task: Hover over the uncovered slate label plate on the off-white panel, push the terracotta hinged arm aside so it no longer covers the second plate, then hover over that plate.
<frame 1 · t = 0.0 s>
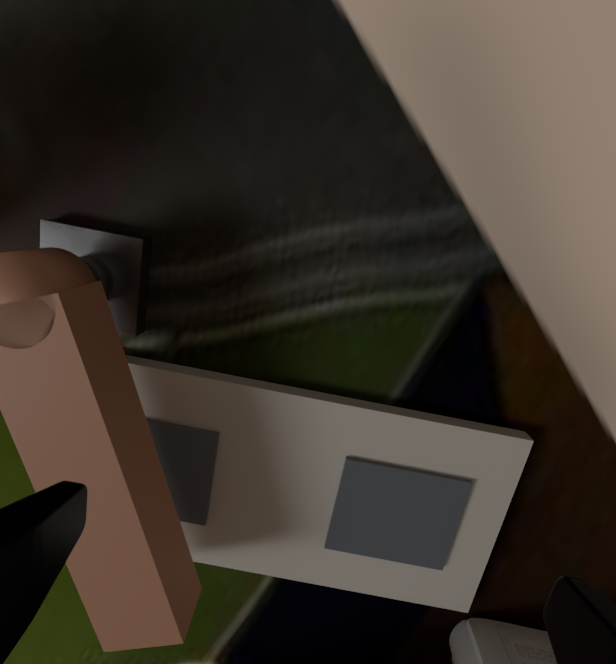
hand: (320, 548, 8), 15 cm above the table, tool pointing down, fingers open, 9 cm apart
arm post: (100, 277, 22), on the table
cable arm: (96, 458, 19), point 5 cm above the table, hinge at 0.0°
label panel: (276, 479, 24), on the table
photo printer: (522, 643, 27), on the table
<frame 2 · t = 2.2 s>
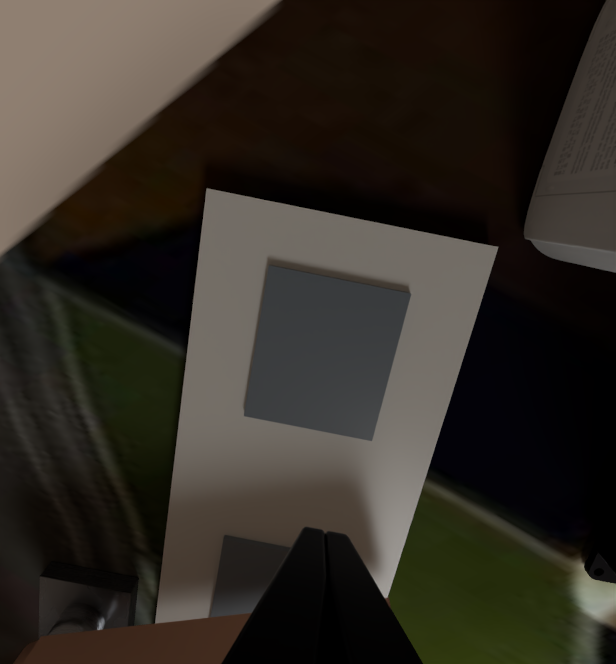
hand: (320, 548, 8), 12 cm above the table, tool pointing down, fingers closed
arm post: (93, 603, 24), on the table
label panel: (296, 476, 21), on the table
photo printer: (598, 135, 17), on the table
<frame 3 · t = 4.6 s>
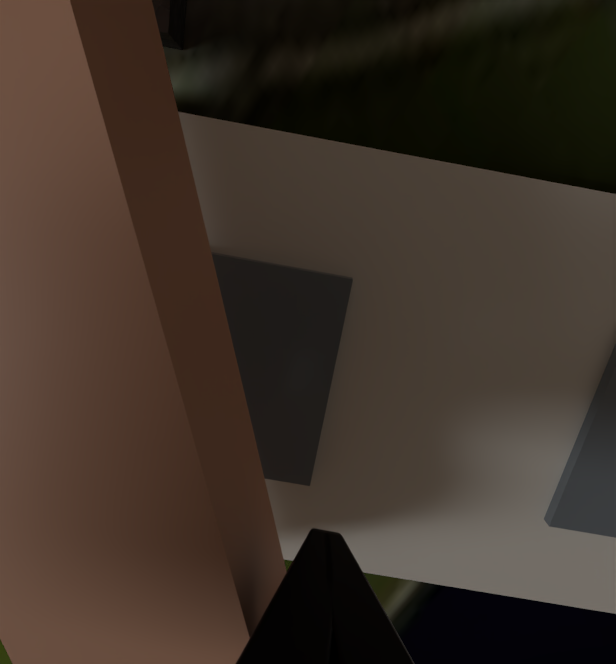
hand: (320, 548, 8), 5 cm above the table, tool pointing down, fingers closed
cable arm: (59, 270, 6), point 5 cm above the table, hinge at 1.9°, touching gripper
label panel: (445, 392, 12), on the table
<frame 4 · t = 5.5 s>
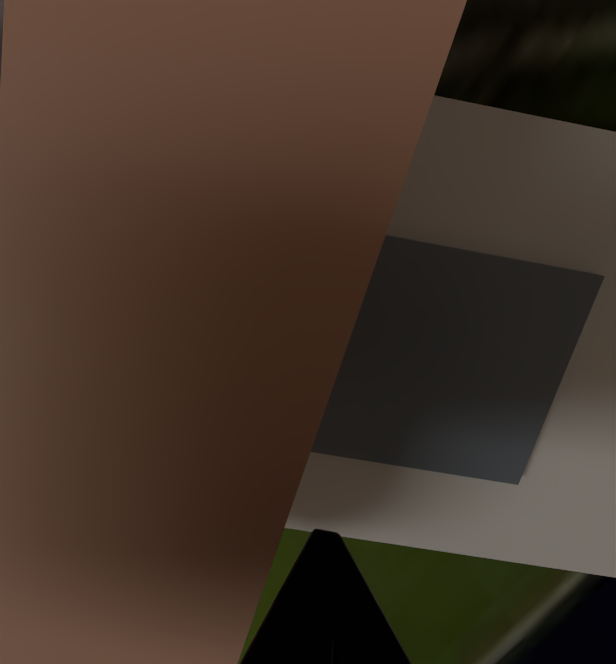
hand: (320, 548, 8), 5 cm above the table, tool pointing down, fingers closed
cable arm: (210, 262, 6), point 5 cm above the table, hinge at 28.1°, touching gripper
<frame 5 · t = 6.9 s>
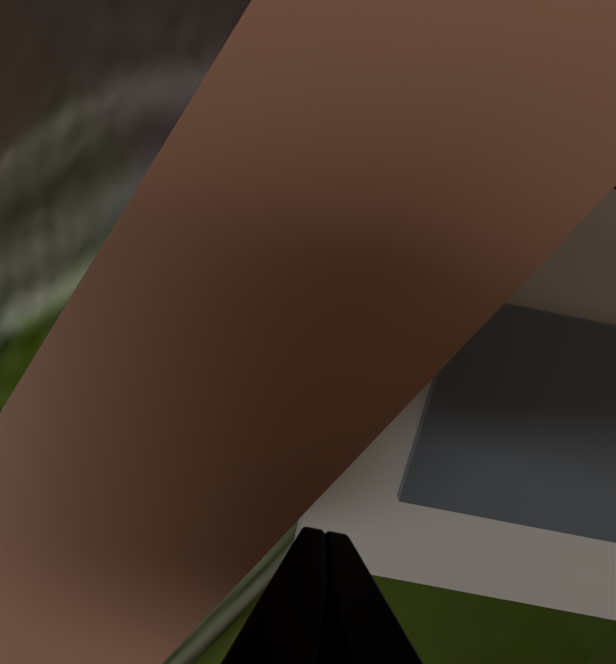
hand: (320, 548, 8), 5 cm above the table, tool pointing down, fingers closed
cable arm: (291, 280, 6), point 5 cm above the table, hinge at 48.6°
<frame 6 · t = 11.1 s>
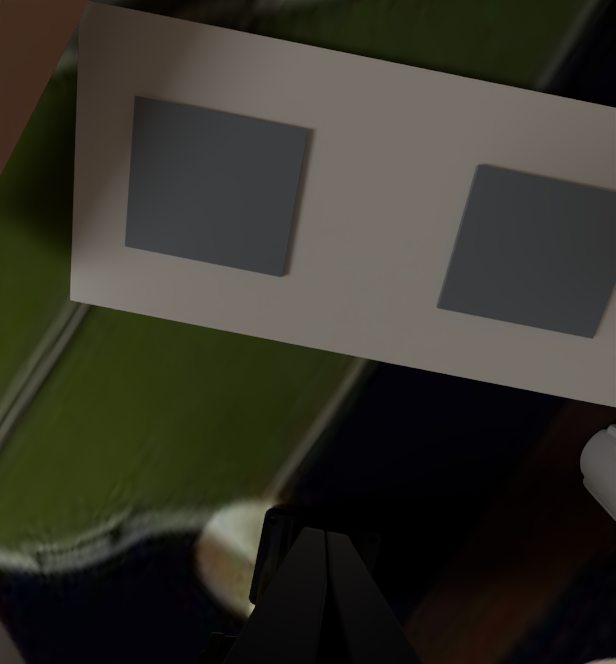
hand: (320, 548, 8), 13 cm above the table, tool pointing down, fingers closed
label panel: (372, 223, 19), on the table
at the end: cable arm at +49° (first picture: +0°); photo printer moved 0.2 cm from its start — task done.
